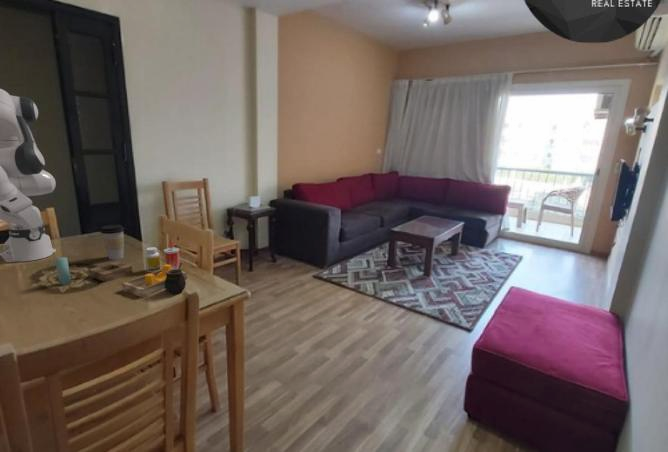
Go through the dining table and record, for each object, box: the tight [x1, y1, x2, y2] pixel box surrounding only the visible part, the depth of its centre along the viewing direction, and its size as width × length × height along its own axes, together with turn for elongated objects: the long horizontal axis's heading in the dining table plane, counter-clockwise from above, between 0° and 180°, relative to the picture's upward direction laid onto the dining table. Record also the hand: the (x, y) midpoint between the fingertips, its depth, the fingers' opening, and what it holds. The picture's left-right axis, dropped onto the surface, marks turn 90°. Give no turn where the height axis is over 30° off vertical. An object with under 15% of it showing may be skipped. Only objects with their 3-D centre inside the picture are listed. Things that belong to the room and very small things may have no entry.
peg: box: [54, 256, 72, 286], centre depth 133 cm, size 4×4×10 cm
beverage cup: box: [163, 238, 180, 269], centre depth 149 cm, size 6×6×14 cm
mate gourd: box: [164, 262, 187, 295], centre depth 130 cm, size 7×8×10 cm
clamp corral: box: [121, 268, 188, 298], centre depth 135 cm, size 11×19×3 cm, turn 153°
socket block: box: [88, 261, 133, 283], centre depth 143 cm, size 11×11×3 cm
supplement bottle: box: [144, 247, 161, 273], centre depth 148 cm, size 5×5×10 cm
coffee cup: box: [100, 224, 125, 261], centre depth 161 cm, size 9×9×15 cm
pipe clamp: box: [144, 263, 172, 287], centre depth 135 cm, size 12×4×6 cm, turn 169°
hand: (28, 232), depth 121 cm, fingers open, 8 cm apart
